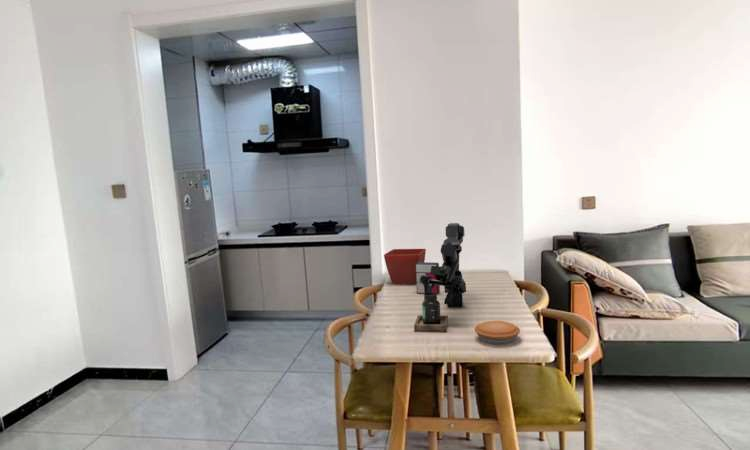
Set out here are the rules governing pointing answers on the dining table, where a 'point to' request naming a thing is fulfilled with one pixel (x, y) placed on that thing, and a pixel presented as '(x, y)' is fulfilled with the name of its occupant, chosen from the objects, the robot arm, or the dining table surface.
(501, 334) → the pie
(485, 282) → the dining table surface
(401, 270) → the plant pot
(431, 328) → the walnut tray
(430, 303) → the supplement bottle
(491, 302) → the dining table surface
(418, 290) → the grey and red box
